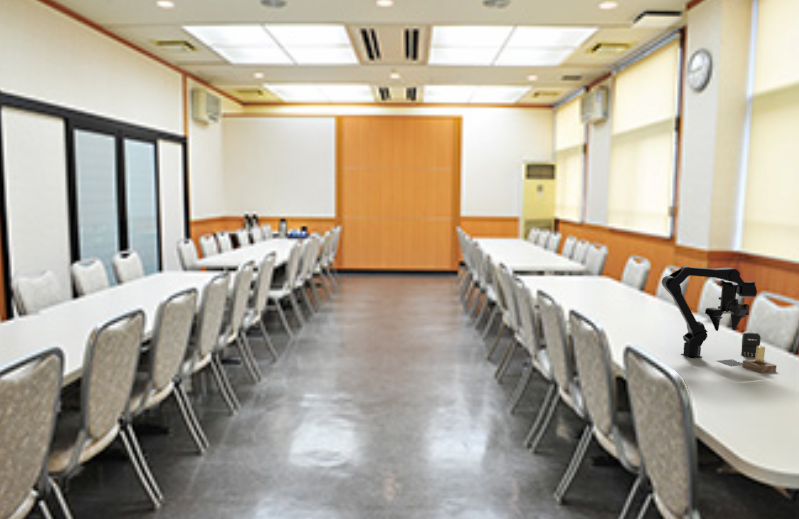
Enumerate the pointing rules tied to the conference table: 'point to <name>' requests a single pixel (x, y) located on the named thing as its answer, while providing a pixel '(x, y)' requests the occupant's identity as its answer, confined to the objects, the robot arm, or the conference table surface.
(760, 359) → the pin
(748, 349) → the battery charger
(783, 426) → the conference table surface
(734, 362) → the mat
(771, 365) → the pin block
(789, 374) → the conference table surface
